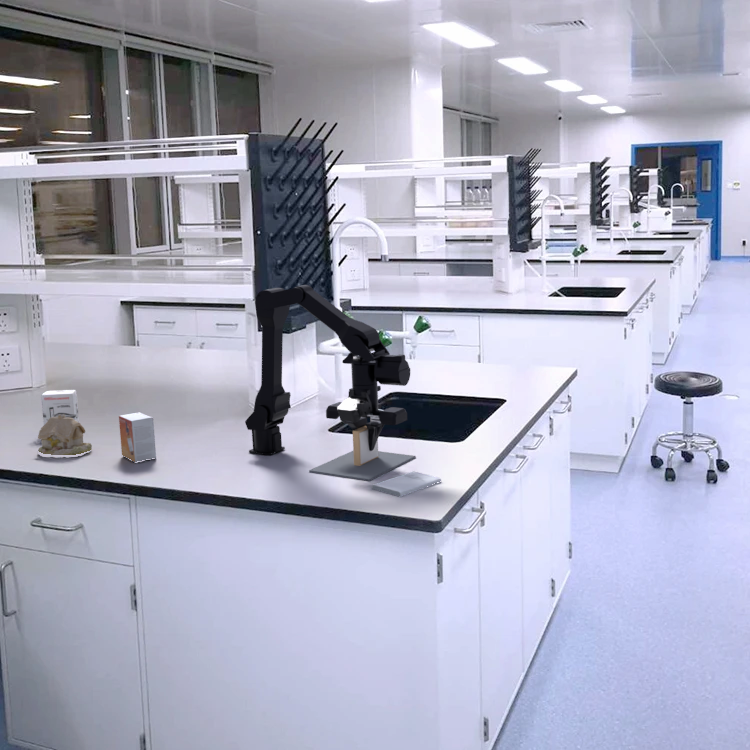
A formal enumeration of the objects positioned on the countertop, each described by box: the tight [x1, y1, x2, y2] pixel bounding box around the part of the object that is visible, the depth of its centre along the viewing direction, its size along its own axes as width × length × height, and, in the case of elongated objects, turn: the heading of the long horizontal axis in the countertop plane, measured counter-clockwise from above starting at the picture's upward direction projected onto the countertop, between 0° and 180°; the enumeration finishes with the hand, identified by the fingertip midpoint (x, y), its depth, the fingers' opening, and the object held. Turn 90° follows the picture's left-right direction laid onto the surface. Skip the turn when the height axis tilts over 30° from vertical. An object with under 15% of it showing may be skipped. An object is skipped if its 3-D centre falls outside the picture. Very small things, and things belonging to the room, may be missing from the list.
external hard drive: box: [371, 470, 442, 497], centre depth 187 cm, size 2×8×12 cm
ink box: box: [40, 389, 80, 426], centre depth 244 cm, size 9×5×12 cm, turn 95°
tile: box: [352, 425, 379, 466], centre depth 204 cm, size 2×8×8 cm, turn 148°
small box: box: [118, 411, 157, 462], centre depth 216 cm, size 8×6×10 cm
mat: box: [308, 450, 417, 482], centre depth 204 cm, size 16×20×1 cm
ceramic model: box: [37, 414, 93, 455], centre depth 224 cm, size 14×11×10 cm
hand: (367, 450), depth 205 cm, fingers closed on tile, 2 cm apart
